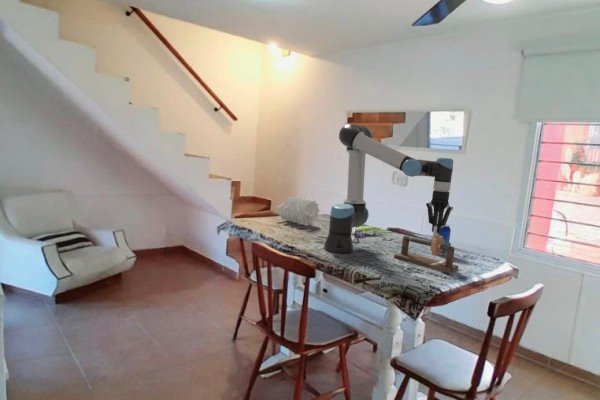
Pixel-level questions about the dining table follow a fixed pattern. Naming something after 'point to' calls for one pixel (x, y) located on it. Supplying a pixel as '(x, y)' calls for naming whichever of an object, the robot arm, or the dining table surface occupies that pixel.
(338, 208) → the robot arm
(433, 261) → the pipe stand
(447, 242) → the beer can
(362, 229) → the figurine
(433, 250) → the ring
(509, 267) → the dining table surface
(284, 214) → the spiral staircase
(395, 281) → the dining table surface
